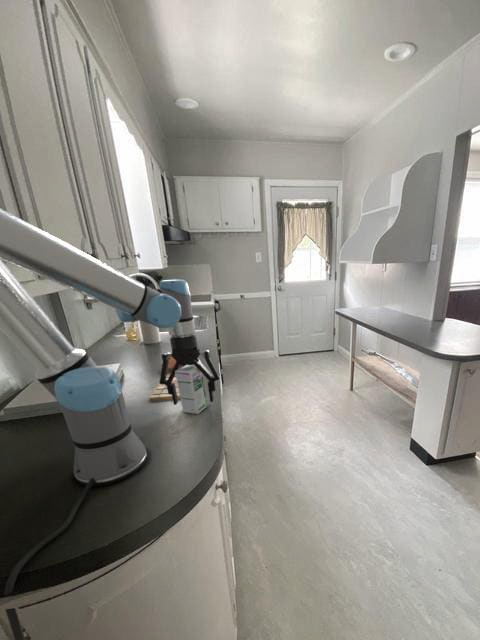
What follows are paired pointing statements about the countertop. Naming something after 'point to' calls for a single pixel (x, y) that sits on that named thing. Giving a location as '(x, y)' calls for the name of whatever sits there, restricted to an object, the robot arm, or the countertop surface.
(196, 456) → the countertop surface
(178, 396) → the board
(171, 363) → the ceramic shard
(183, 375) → the syrup box
